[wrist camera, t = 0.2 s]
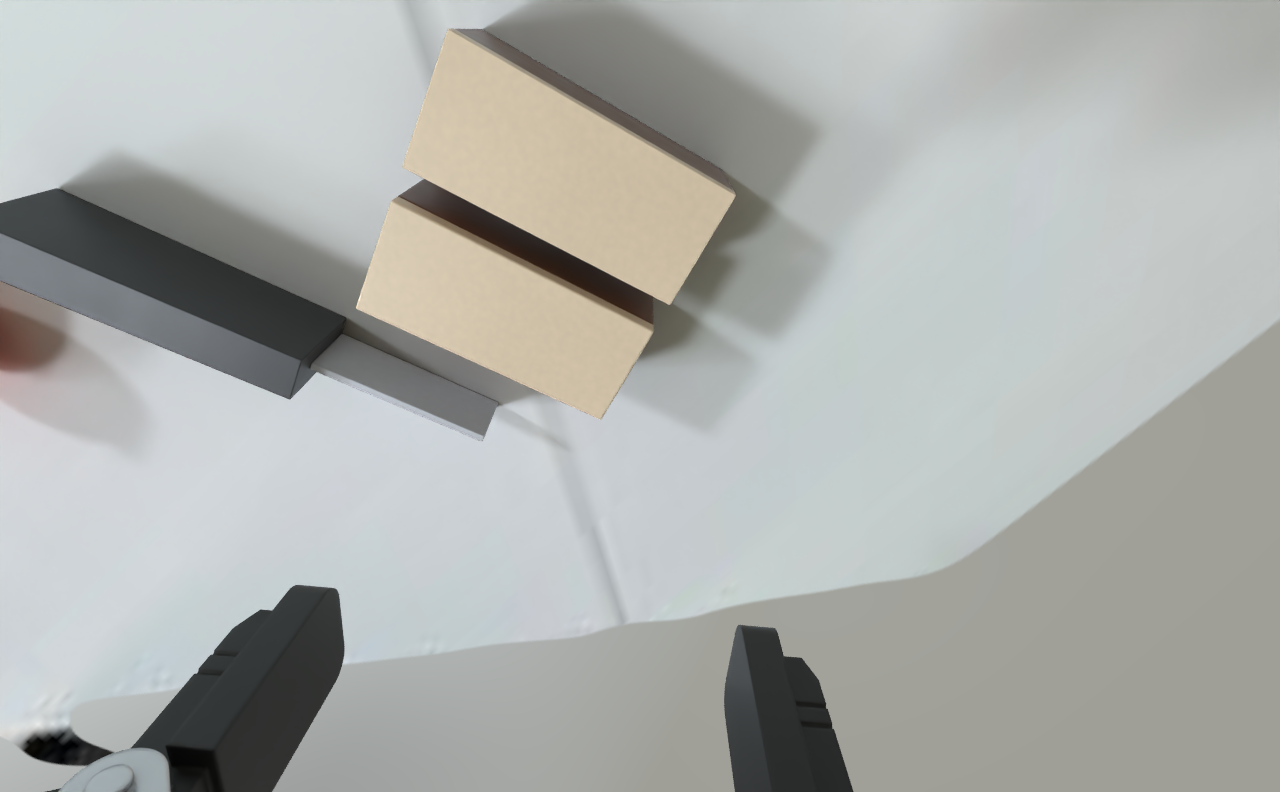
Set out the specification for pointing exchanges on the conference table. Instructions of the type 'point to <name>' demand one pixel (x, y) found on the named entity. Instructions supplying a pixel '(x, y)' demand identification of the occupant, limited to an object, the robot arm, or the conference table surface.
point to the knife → (207, 308)
